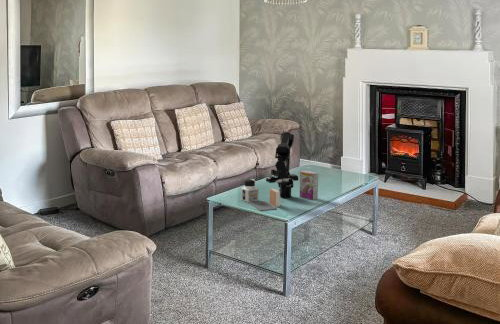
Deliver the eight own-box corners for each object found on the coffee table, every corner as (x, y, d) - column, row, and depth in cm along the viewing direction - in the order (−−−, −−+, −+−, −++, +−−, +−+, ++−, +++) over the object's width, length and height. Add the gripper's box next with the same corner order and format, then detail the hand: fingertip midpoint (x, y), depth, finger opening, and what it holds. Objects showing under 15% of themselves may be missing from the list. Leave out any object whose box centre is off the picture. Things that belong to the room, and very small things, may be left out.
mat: (264, 201, 359) (264, 200, 358) (276, 209, 342) (276, 208, 342) (248, 203, 355) (248, 202, 355) (260, 210, 338) (260, 210, 338)
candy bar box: (299, 196, 369) (299, 171, 366) (304, 195, 373) (304, 170, 369) (312, 200, 361) (313, 174, 358) (317, 198, 365) (318, 173, 361)
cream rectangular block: (274, 202, 355) (274, 188, 354) (279, 206, 348) (279, 191, 346) (269, 203, 354) (269, 188, 353) (275, 206, 347) (275, 192, 345)
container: (248, 202, 356) (248, 181, 353) (241, 199, 362) (241, 179, 360) (258, 200, 361) (258, 179, 358) (251, 197, 367) (251, 177, 364)
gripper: (290, 163, 359) (290, 188, 362) (262, 165, 352) (262, 190, 355) (299, 166, 349) (298, 192, 352) (270, 169, 342) (269, 195, 345)
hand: (282, 192), depth 351 cm, fingers closed
